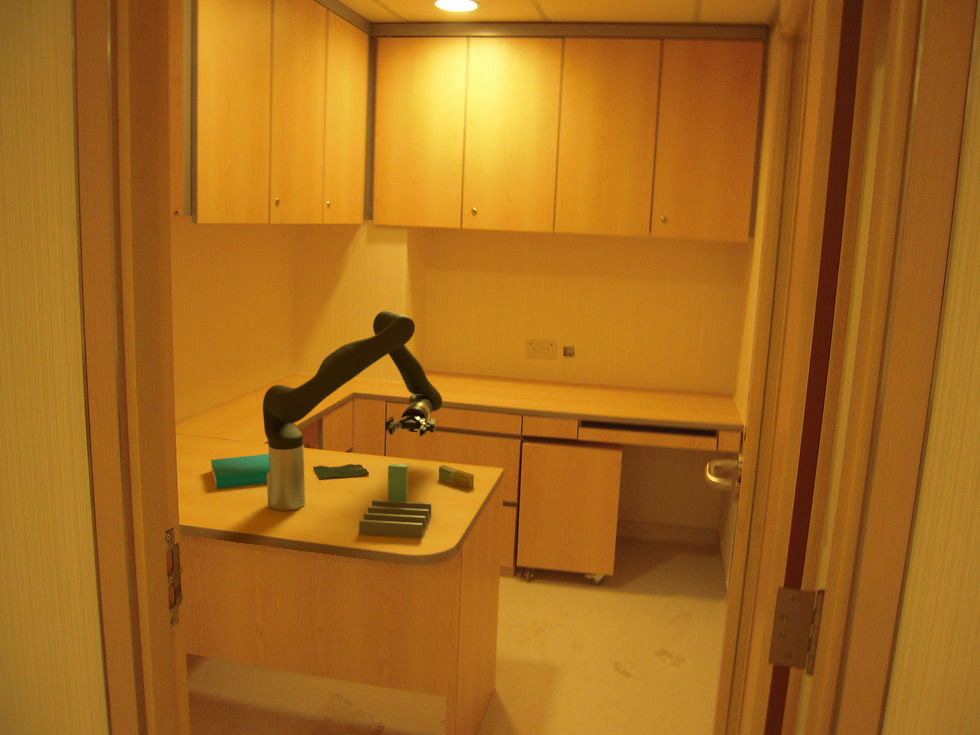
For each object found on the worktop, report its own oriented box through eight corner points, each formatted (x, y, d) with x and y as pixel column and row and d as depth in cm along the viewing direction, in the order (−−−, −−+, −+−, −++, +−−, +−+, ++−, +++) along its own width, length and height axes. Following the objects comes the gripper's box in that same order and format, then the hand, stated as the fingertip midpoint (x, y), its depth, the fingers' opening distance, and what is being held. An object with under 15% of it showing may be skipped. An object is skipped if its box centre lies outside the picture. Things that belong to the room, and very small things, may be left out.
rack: (359, 534, 209) (359, 521, 208) (372, 511, 224) (372, 499, 223) (421, 538, 208) (421, 524, 207) (431, 515, 222) (431, 502, 222)
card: (388, 507, 227) (388, 465, 224) (389, 504, 229) (389, 463, 226) (406, 508, 226) (406, 466, 224) (407, 505, 228) (407, 464, 226)
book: (210, 459, 252) (293, 450, 262) (210, 473, 253) (293, 463, 263) (215, 478, 237) (304, 467, 246) (216, 492, 237) (304, 480, 247)
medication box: (438, 479, 250) (438, 466, 249) (444, 477, 252) (444, 464, 251) (468, 489, 243) (468, 476, 242) (474, 486, 245) (474, 473, 244)
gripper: (392, 403, 250) (381, 418, 234) (439, 405, 249) (430, 420, 233) (393, 427, 252) (381, 443, 236) (439, 429, 251) (430, 445, 235)
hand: (406, 432), depth 235 cm, fingers open, 8 cm apart
